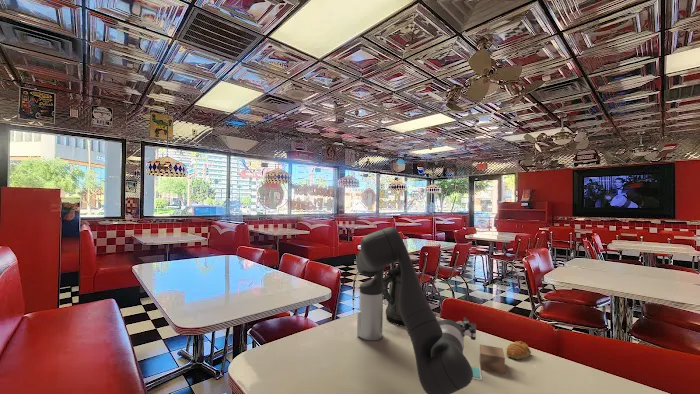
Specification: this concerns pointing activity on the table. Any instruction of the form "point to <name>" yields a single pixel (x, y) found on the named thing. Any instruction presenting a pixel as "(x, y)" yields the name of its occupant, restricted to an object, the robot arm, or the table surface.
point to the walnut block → (492, 359)
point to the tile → (476, 373)
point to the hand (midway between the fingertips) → (449, 318)
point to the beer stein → (393, 295)
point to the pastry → (518, 350)
